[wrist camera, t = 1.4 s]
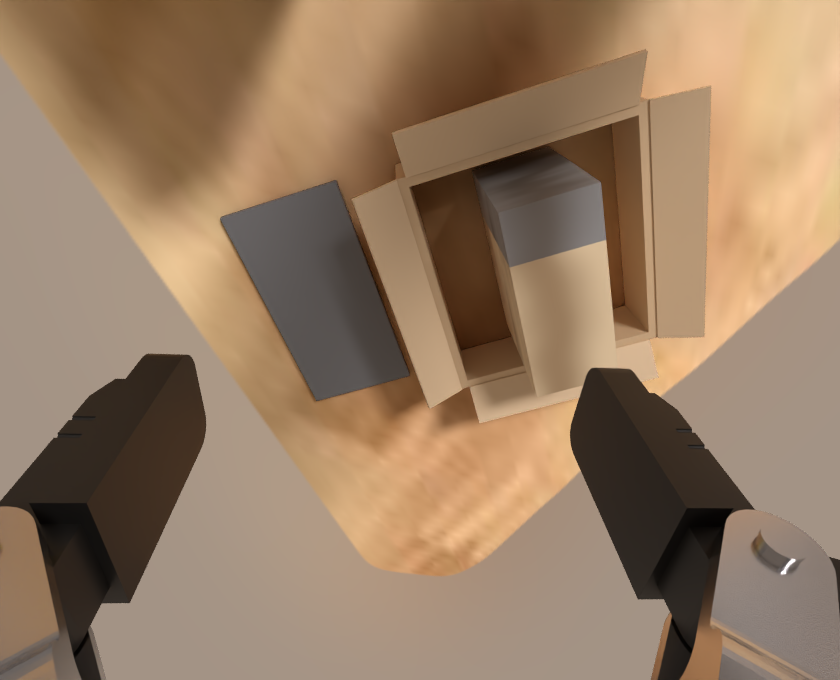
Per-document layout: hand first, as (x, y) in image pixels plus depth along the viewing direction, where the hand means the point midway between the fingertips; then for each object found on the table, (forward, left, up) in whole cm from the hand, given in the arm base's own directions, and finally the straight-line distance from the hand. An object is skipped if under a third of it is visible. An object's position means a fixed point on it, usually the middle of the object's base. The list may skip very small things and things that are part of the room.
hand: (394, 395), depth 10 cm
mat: (+8, +8, -24) cm, 27 cm away
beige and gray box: (-7, +8, -24) cm, 26 cm away
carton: (-7, +8, -24) cm, 26 cm away
